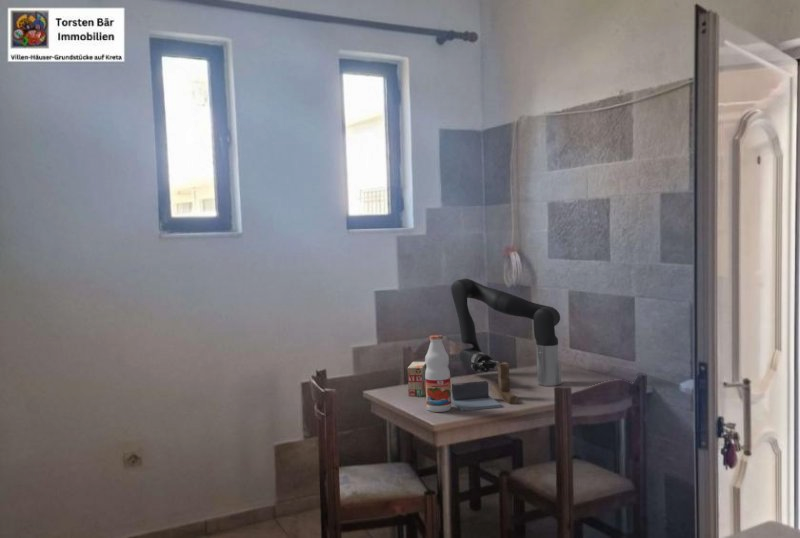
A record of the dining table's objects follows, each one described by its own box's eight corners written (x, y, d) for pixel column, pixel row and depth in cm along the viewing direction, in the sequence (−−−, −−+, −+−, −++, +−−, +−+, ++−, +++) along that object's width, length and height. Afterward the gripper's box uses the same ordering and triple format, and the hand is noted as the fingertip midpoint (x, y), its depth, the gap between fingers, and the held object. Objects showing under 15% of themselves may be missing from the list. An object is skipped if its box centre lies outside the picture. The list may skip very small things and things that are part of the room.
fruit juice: (449, 405, 240) (447, 333, 239) (452, 411, 231) (450, 336, 230) (425, 406, 240) (422, 334, 239) (427, 413, 230) (424, 338, 229)
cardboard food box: (417, 384, 278) (416, 357, 278) (431, 384, 277) (430, 357, 276) (408, 396, 257) (407, 367, 257) (423, 396, 256) (422, 367, 256)
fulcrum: (479, 391, 260) (479, 375, 260) (501, 407, 235) (500, 388, 234) (442, 394, 257) (442, 378, 257) (460, 410, 232) (459, 392, 231)
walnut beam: (499, 392, 259) (498, 358, 258) (517, 403, 239) (516, 367, 238) (491, 392, 258) (490, 359, 257) (509, 404, 238) (507, 368, 238)
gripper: (466, 354, 273) (477, 361, 258) (496, 352, 276) (510, 358, 260) (466, 371, 274) (478, 379, 258) (497, 369, 276) (510, 376, 260)
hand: (494, 368), depth 259 cm, fingers open, 8 cm apart
